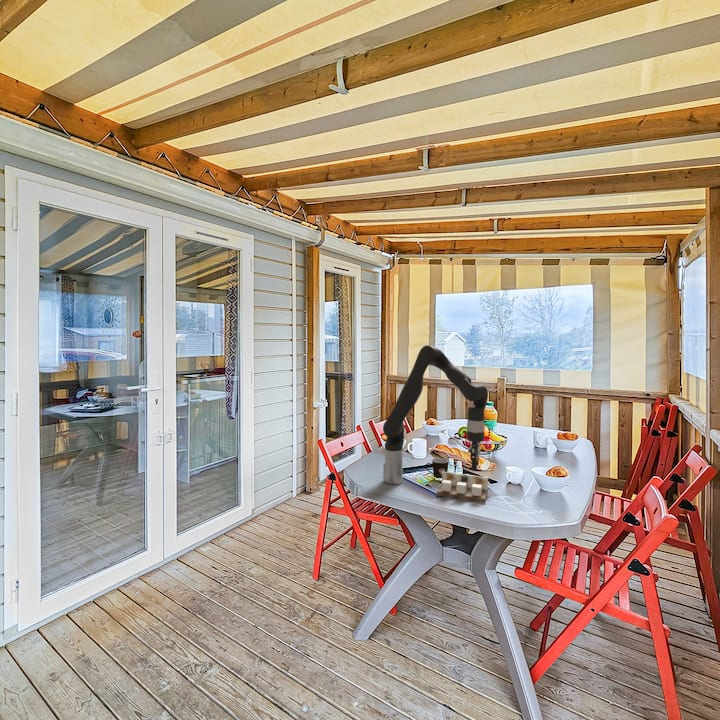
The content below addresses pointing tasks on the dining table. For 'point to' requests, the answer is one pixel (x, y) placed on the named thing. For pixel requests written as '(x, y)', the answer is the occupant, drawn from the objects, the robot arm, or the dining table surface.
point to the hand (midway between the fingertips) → (475, 467)
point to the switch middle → (461, 487)
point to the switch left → (446, 485)
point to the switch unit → (470, 481)
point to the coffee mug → (438, 466)
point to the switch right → (476, 490)
